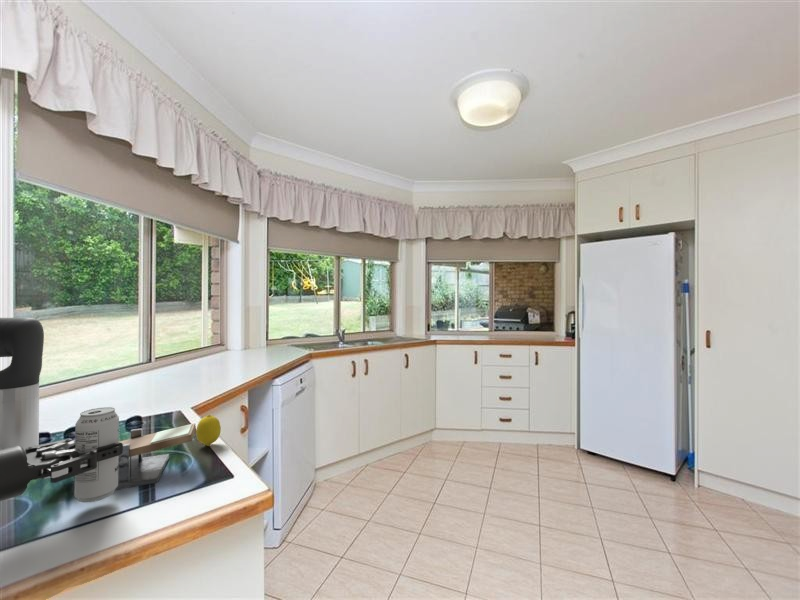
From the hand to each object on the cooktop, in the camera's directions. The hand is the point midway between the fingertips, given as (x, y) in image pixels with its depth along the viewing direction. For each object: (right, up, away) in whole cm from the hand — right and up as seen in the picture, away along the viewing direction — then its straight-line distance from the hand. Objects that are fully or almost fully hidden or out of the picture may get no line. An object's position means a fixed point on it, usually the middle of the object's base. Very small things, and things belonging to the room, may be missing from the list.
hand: (113, 444), depth 68 cm
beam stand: (-4, -11, +10) cm, 15 cm away
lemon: (+4, -11, +26) cm, 28 cm away
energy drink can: (-1, -8, -2) cm, 9 cm away
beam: (-4, -6, +10) cm, 13 cm away
